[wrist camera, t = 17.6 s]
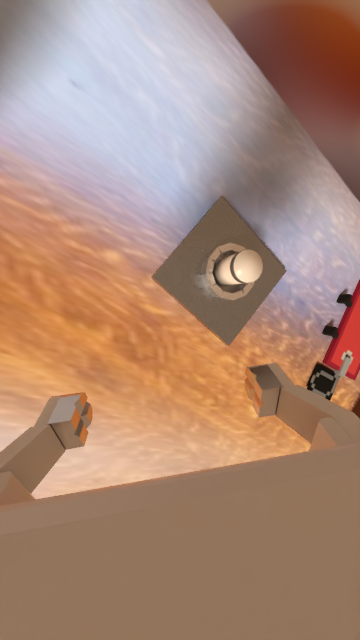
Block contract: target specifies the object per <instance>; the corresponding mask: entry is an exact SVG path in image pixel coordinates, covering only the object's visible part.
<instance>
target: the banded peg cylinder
mask: <svg viewBox="0 0 360 640" xmlns="http://www.w3.org/2000/svg"><path fill="white" fill-rule="evenodd" d="M262 269H263V263H262V259H261V257H260V256H259V254H258V253H257V252H255V251H253V250H243V251H241V252H238V253H236V254H234V255H231V256H229V257H226V258H224V259H221V260H219V261H217V262H216V263H215V265H214V267H213V272H212V273H213V276H214V280H215V281H216V282H217V283H218V284H219V285H223V286H226V285H234V284H242V283H251V282H254V281H255V280H257V279H258V278H259V277H260V275H261V273H262Z"/></svg>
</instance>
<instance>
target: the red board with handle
mask: <svg viewBox="0 0 360 640" xmlns="http://www.w3.org/2000/svg"><path fill="white" fill-rule="evenodd" d="M337 302H338V303H345V305H346V306H347V308H346V311H345V313H344V315H343V317H342V320H341V322H340V324H339V327H338V328H336V327H329V326H325V328H324V330H323V332H322V333H323V334H324V335H329V336H332V337H333V340H332V343H331V345H330V347H329V350H328V352H327V354H326V356H325V359H324V361H323V363H325V364H326V365H328V366H330V367H332V368H333V369H335V370H334V372H332V371H330V370H328V369H327V368H325V367H323V366H321V365H319V364H318V365H317V367H316V369H315V372H314V374H313V376H312V379H311V381H310V383H309V385H308V388H307V389H308V390H310V391H312V392H314V393H316V394H318V395H320V396H322V397H324V398H326V399H328V400H330V399H331V397H332V394H333V392H334V390H335V387H336V385H337V383H338V380H339V378H340V376H341V377H345V376H347V377H349V378H351V379H353V380H355V379H356V377H357V375H358V372H359V370H360V280H359V282H358V284H357V286H356V289H355V291H354V293H353V295H351V294H343V295H339V297H338V299H337ZM345 355H347V357H345Z"/></svg>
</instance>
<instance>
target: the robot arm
mask: <svg viewBox="0 0 360 640" xmlns="http://www.w3.org/2000/svg"><path fill="white" fill-rule="evenodd" d="M245 374H246V376H247V378H246V379H245V389H246V393H247V395H248V397H249V399H251V400H252V401H253V407H254V409H255V411H256V413H257V415H258V417H264V416H271V415H276V416H277V417H278V418H279V419H281V420H282V421H283V422H284V423H286V424H287V425H288V426H290V427H291V428H292V429H293V430H295V431H296V432H297V433H299V434H300V435H301V436H302V437H304V438H305V439H306V440H308V441H309V442H310V443H311V447H310V450H309V451H308V452H303V453H297V454H291V455H286V456H280V457H274V458H269V459H263V460H257V461H252V462H246V463H240V464H235V465H229V466H223V467H218V468H212V469H206V470H201V471H195V472H189V473H184V474H178V475H173V476H167V477H161V478H156V479H150V480H144V481H139V482H133V483H127V484H122V485H116V486H110V487H105V488H99V489H93V490H88V491H82V492H76V493H71V494H65V495H59V496H54V497H48V498H42V499H37V500H36V499H35V498H34V497H33V496H32V494H31V493H32V492H33V490H34V489H35V488H36V487H37V485H38V484H39V483H40V482H41V480H42V479H43V478H44V477H45V475H46V474H47V473H48V472H49V471H50V469H51V468H52V467H53V466H54V464H55V463H56V462H57V461H58V459H59V458H60V457H61V456H62V454H63V453H64V452H65V450H66V449H72V448H77V447H82V446H84V445H85V441H86V438H87V435H88V431H87V429H86V428H87V427H88V426H89V425H90V424H91V421H92V407H91V405H90V404H89V403H88V402H86V401H87V396H86V394H85V393H75V394H67V395H61V396H53V397H51V398H50V399H49V400H48V402H47V404H46V406H45V408H44V409H43V411H42V413H41V415H40V417H39V418H38V420H37V422H36V424H35V426H34V427H30V428H29V429H28V430H27V431H25V432H24V433H23V434H22V435H21V436H19V437H18V438H17V439H16V440H15V441H13V442H12V443H11V444H10V445H9V446H7V447H6V448H5V449H4V450H3V451H1V452H0V640H360V419H359V418H358V417H357V416H356V415H355V414H354V413H353V412H351V411H349V410H347V409H345V408H343V407H341V406H339V405H337V404H335V403H333V402H331V401H329V400H327V399H325V398H323V397H321V396H319V395H317V394H315V393H313V392H311V391H309V390H307V389H305V388H303V387H301V386H299V385H294V384H293V382H292V381H291V380H290V379H289V378H288V376H287V375H286V374H285V373H284V371H283V370H282V369H281V368H280V366H279V365H278V364H277V363H271V364H266V365H259V366H253V367H247V368H246V372H245Z"/></svg>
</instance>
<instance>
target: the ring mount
mask: <svg viewBox="0 0 360 640" xmlns="http://www.w3.org/2000/svg"><path fill="white" fill-rule="evenodd" d="M243 250H253V251H255V252H257V253H258V254H259V256H260V257H261V259H262V263H263V269H262V273H261V275H260V277H259V278H258V279H257V280H255V281H254V282H251V283H242V284H234V285H226V286H223V285H219V284H218V283H217V282H216V281H215V280H214V276H213V273H212V272H213V267H214V265H215V263H216V262H217V261H219V260H221V259H224V258H226V257H229V256H231V255H234V254H236V253H238V252H241V251H243ZM285 272H286V270H285V269H284V267H283V266H282V265H281V264H280V263H279V262H278V260H277V259H276V258H275V257H274V256H273V255H272V254H271V252H270V251H269V250H268V249H267V248H266V247H265V245H264V244H263V243H262V242H261V241H260V240H259V238H258V237H257V236H256V235H255V234H254V233H253V231H252V230H251V229H250V228H249V227H248V226H247V225H246V223H245V222H244V221H243V220H242V219H241V218H240V216H239V215H238V214H237V213H236V212H235V211H234V209H233V208H232V207H231V206H230V205H229V204H228V202H227V201H226V200H225V199H224V198H223V197H222V196H221V197H220V198H219V199H218V201H217V202H216V203H215V204H214V205H213V206H212V208H211V209H210V210H209V211H208V212H207V213H206V215H205V216H204V217H203V218H202V219H201V220H200V222H199V223H198V224H197V225H196V226H195V227H194V229H193V230H192V231H191V232H190V233H189V234H188V235H187V237H186V238H185V239H184V240H183V241H182V242H181V244H180V245H179V246H178V247H177V248H176V249H175V251H174V252H173V253H172V254H171V255H170V256H169V258H168V259H167V260H166V261H165V262H164V263H163V265H162V266H161V267H160V268H159V269H158V270H157V272H156V273H155V274H154V275H153V276H152V277H151V278H152V279H153V280H154V281H155V282H156V283H158V284H159V285H160V286H161V287H162V288H163V289H164V290H165V291H166V292H168V293H169V294H170V295H171V296H172V297H173V298H174V299H175V300H177V301H178V302H179V303H180V304H181V305H182V306H183V307H184V308H185V309H187V310H188V311H189V312H190V313H191V314H192V315H193V316H194V317H196V318H197V319H198V320H199V321H200V322H201V323H202V324H203V325H204V326H206V327H207V328H208V329H209V330H210V331H211V332H212V333H213V334H215V335H216V336H217V337H218V338H219V339H220V340H221V341H222V342H223V343H225V344H226V345H230V344H231V342H232V341H233V340H234V339H235V337H236V336H237V335H238V333H239V332H240V331H241V329H242V328H243V327H244V326H245V324H246V323H247V322H248V320H249V319H250V318H251V316H252V315H253V314H254V313H255V311H256V310H257V309H258V307H259V306H260V305H261V303H262V302H263V301H264V300H265V298H266V297H267V296H268V294H269V293H270V292H271V290H272V289H273V288H274V287H275V285H276V284H277V283H278V281H279V280H280V279H281V277H282V276H283V275H284V274H285Z"/></svg>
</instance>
